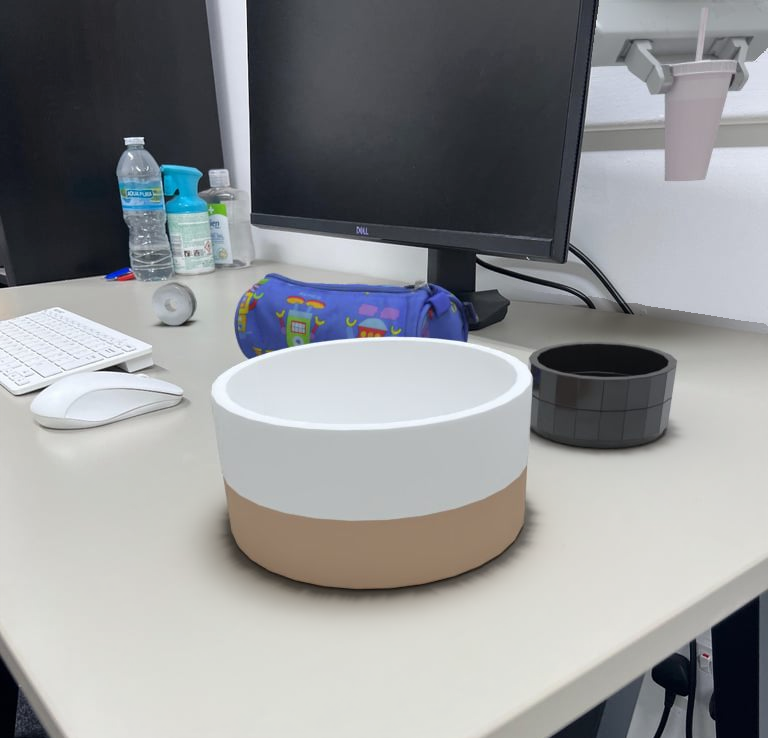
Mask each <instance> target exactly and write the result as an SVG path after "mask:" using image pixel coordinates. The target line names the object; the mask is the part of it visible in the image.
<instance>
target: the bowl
mask: <svg viewBox="0 0 768 738" xmlns="http://www.w3.org/2000/svg"><path fill="white" fill-rule="evenodd" d="M532 383H533V377H532V374H531V372H530V371H529V369H528V365H527V364H525V362H522V361H521V360H520V359H519V358H517V357H515V356H513V355H511V354H508V353H507V352H504V351H503V350H498V349H495V348H491V347H488V346H485V345H481V344H476V343H470V342H467V343H466V342H461V341H453V340H444V339H434V338H418V337H372V338H355V339H342V340H333V341H325V342H318V343H311V344H305V345H300V346H295V347H289V348H285V349H281V350H277V351H273V352H269V353H266V354H263V355H260V356H257V357H254V358H251V359H246V360H245V361H241V362H239V363H238V364H235V365H233V366H231V367H229V368H228V369H227V370H225V371H224V372H223V373H221V374H220V375H219V376H217V378H216V379H215V380H214V381H213V383H212V384H211V388H210V395H209V396H210V397H209V398H210V406H211V411H212V418H213V425H214V431H215V437H216V445H217V450H218V458H219V462H220V463H219V464H220V469H221V470H220V471H221V474H222V478H223V484H224V490H225V491H224V492H225V497H226V505H227V510H228V517H229V522H230V523H229V524H230V530H231V533H232V537H233V538H234V540H235V542H236V545H237V546H238V548H239V549H240V550H241V551H242V552H243V553H244V554H245V555H246V556H247V557H248V558H249V559H250V560H251V561H252V562H254V563H256V564H258V565H259V566H261V567H263V568H265V569H266V570H267V571H269V572H272V573H275V574H276V575H280V576H283V577H285V578H287V579H291V580H294V581H298V582H301V583H303V582H304V583H307V584H312V585H317V586H322V587H331V588H341V589H352V590H353V589H355V590H363V589H364V590H365V589H366V590H367V589H370V590H371V589H394V588H400V587H401V588H402V587H409V586H416V585H418V586H419V585H424V584H428V583H432V582H436V581H439V580H444V579H447V578H452V577H456V576H458V575H461V574H463V573H465V572H468V571H471V570H474V569H476V568H478V567H481V566H483V565H484V564H485V563H487V562H489V561H490V560H492V559H494V558H496V557H498V556H500V555H501V554H502V553H503V552H504V551H505V550H506V549H507V548H508V547H509V546H510V545H511V544H512V543H513V542H515V541H516V538H517V537H518V535H519V533H520V532H521V529H522V527H523V526H524V523H525V514H526V513H525V512H526V496H527V478H528V465H529V453H530V437H531V436H530V435H531V426H530V420H531V401H532Z"/></svg>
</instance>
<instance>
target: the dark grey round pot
mask: <svg viewBox="0 0 768 738" xmlns="http://www.w3.org/2000/svg"><path fill="white" fill-rule="evenodd" d="M527 363H528V365H527V367H528V369H529V371H530V372H531V374H532V377H533V383H532V401H531V420H530V429H531V430H532V431H533V432H534V433H536V434H538V435H539V436H541V437H543V438H545V439H548V440H550V441H554V442H556V443H560V444H565V445H569V446H574V447H581V448H582V447H583V448H590V449H620V448H630V447H636V446H641V445H645V444H647V443H650V442H653V441H655V440H657V439H658V438H659V437H661V436H662V435H663V433H664V431H665V429H666V428H667V427H668V426H669V420H670V414H671V413H670V412H671V406H672V399H673V394H674V387H675V386H674V385H675V381H676V372H677V365H678V360H677V359H676V358H675V357H674V356H673V355H672V354H670V353H668V352H665V351H662V350H660V349H657V348H654V347H649V346H645V345H640V344H632V343H625V342H613V341H612V342H611V341H578V342H577V341H576V342H569V343H568V342H567V343H566V342H565V343H559V344H555V345H549V346H545V347H542V348H540V349H537V350H535V351H533V352H532V353H531V354H530V356H529V357H528V362H527Z"/></svg>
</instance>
